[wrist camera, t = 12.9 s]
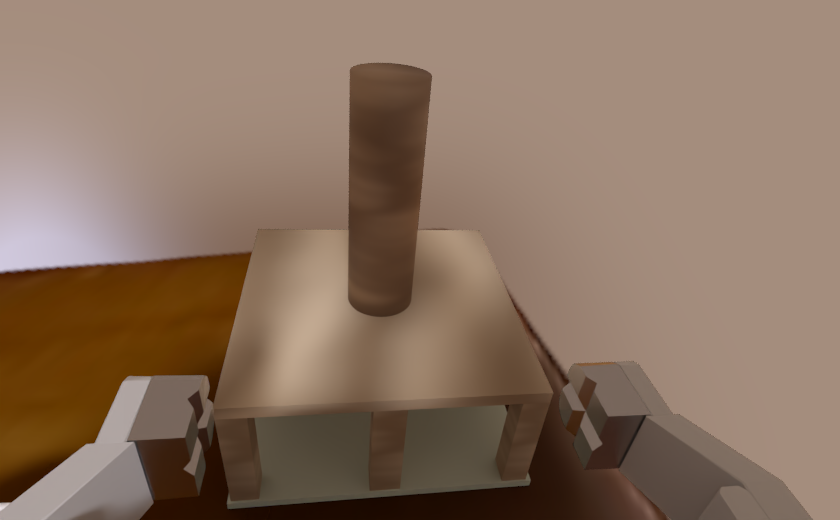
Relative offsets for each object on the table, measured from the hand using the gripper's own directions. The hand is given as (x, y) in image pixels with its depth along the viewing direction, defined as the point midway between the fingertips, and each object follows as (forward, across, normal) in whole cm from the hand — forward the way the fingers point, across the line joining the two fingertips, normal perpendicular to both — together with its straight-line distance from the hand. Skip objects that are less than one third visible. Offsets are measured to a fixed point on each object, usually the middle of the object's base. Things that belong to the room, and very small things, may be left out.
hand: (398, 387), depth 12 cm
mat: (+13, -1, +14) cm, 19 cm away
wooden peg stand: (+13, -1, +13) cm, 18 cm away
